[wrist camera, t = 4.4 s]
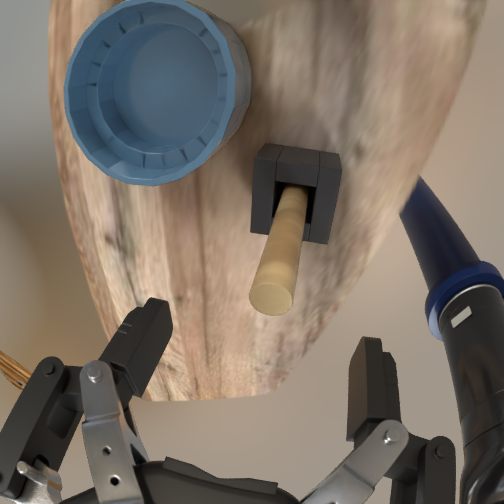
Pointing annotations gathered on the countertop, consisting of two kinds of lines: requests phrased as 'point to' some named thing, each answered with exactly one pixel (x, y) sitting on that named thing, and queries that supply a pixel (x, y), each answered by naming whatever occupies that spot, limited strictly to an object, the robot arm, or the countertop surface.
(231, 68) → the bowl
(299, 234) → the stick
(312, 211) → the holder
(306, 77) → the countertop surface
